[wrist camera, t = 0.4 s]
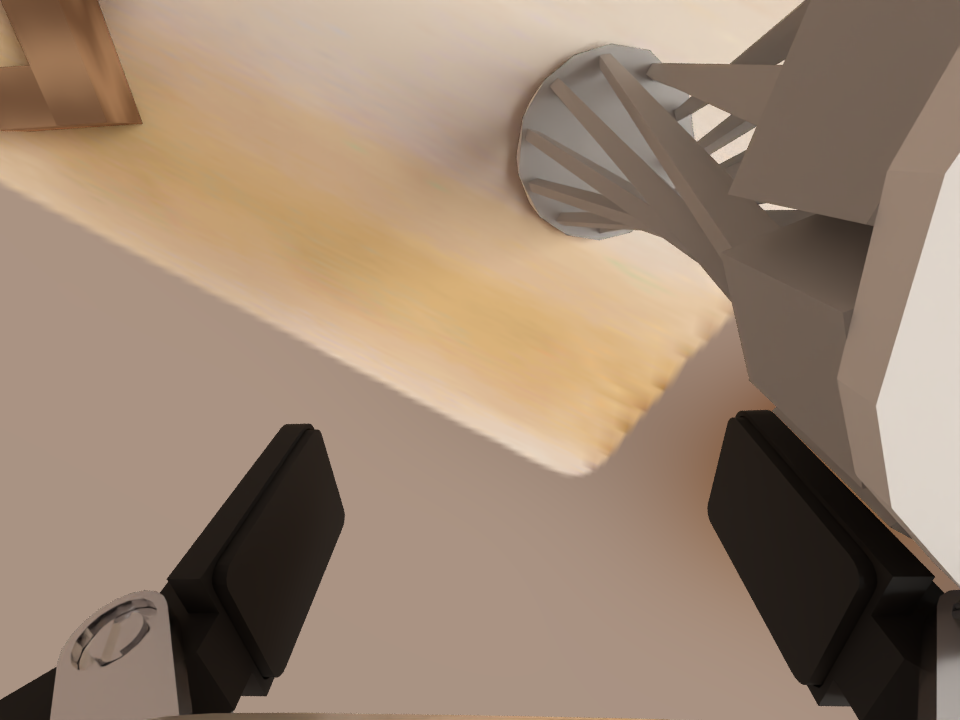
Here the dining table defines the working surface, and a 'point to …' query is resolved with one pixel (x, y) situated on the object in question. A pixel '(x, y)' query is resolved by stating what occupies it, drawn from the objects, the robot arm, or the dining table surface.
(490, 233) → the dining table surface
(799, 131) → the grey lattice tower
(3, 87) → the notched board
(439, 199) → the dining table surface
